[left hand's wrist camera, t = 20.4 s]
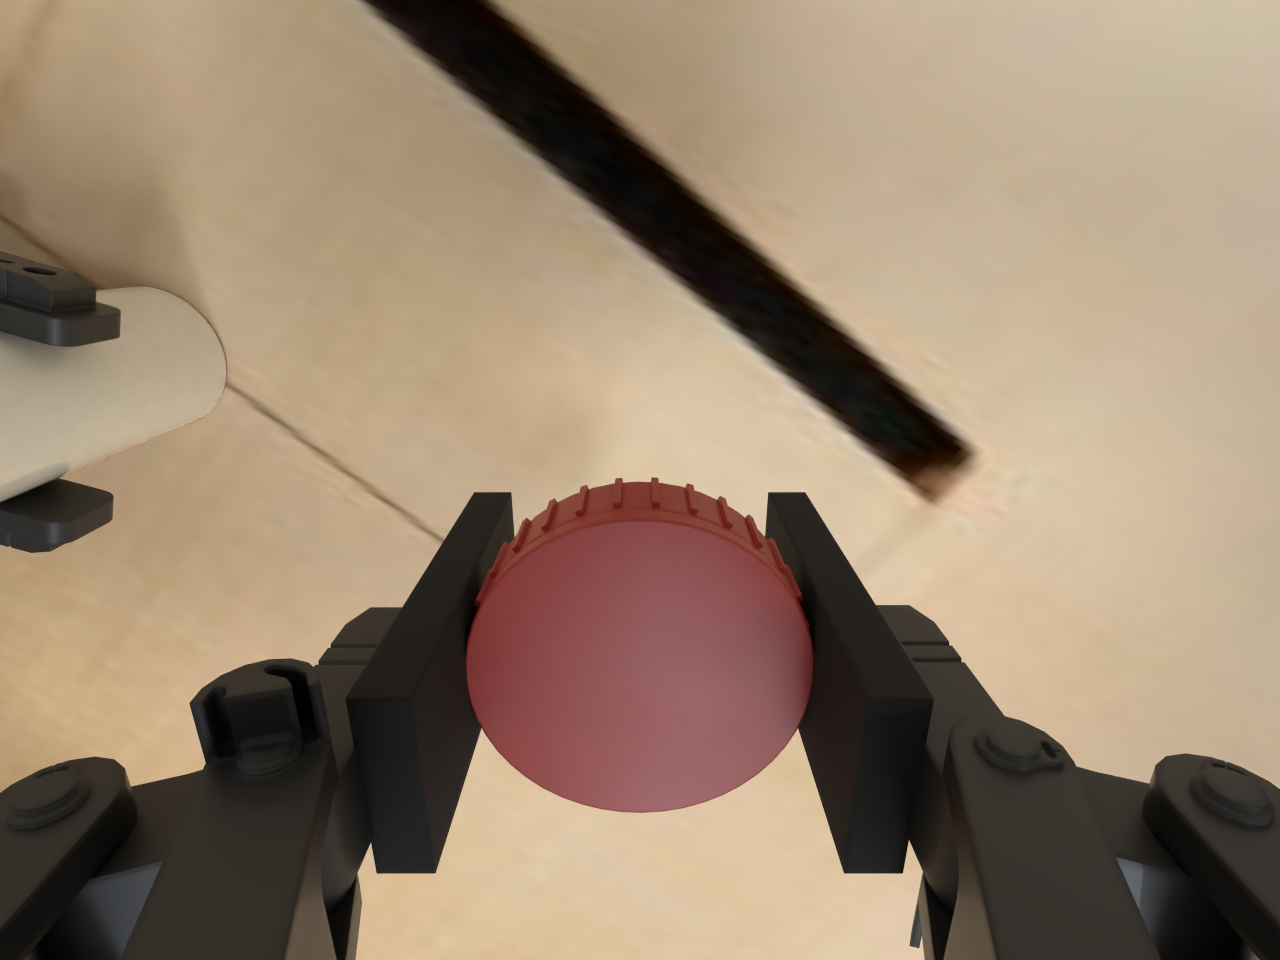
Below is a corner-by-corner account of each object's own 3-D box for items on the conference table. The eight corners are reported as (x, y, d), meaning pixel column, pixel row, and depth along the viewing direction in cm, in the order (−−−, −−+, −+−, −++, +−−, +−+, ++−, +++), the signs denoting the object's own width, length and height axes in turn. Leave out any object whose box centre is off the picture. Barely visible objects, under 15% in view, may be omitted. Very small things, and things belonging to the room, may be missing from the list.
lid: (432, 675, 12) (403, 736, 11) (571, 415, 11) (560, 445, 9) (694, 791, 13) (701, 862, 12) (860, 568, 11) (892, 617, 10)
